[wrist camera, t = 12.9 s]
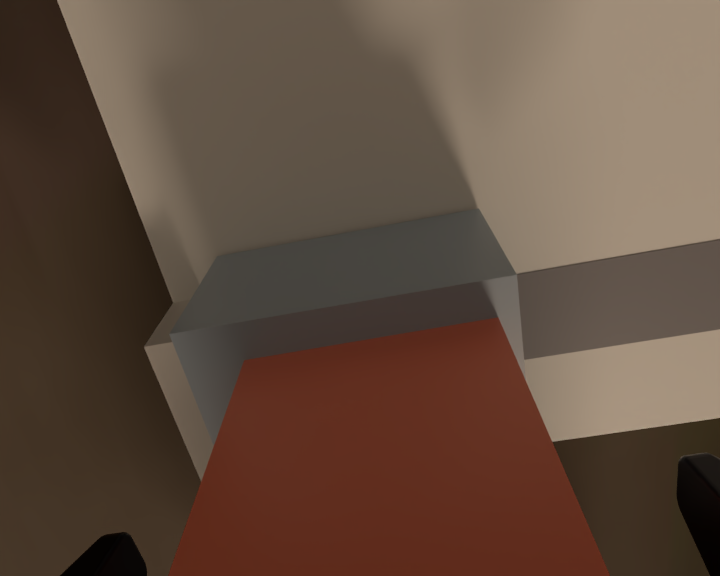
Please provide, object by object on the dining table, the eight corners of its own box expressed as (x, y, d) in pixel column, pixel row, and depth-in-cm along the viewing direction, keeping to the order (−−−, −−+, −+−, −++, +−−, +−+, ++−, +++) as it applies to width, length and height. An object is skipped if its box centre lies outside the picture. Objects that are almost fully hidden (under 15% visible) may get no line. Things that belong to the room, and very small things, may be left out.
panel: (1078, -410, 9) (1382, -589, 6) (886, 367, 15) (997, 442, 13) (30, -137, 11) (-84, -188, 8) (249, 460, 17) (227, 544, 14)
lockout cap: (498, 317, 10) (613, 583, 5) (519, 507, 12) (616, 822, 7) (244, 360, 10) (145, 641, 6) (304, 536, 12) (267, 851, 7)
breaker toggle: (478, 208, 12) (516, 275, 9) (502, 422, 15) (538, 530, 12) (217, 256, 13) (168, 334, 10) (283, 454, 16) (261, 566, 12)
